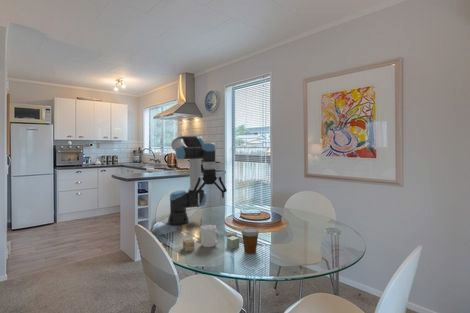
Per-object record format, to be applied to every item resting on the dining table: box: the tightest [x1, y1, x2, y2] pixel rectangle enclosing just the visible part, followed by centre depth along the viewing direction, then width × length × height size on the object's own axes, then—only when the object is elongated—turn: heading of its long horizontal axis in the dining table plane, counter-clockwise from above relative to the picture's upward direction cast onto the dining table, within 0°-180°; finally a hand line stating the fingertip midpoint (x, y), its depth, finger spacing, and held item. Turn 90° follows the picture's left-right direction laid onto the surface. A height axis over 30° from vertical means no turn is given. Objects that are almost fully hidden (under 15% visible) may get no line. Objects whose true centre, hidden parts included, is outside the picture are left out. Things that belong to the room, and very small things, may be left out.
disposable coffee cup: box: [241, 226, 260, 255], centre depth 147 cm, size 10×10×12 cm
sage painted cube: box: [226, 236, 240, 250], centre depth 154 cm, size 5×5×5 cm
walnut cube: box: [227, 231, 238, 238], centre depth 161 cm, size 5×5×5 cm
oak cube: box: [182, 237, 195, 252], centre depth 151 cm, size 5×5×5 cm
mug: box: [200, 224, 222, 248], centre depth 156 cm, size 9×12×11 cm
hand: (210, 204), depth 162 cm, fingers open, 13 cm apart
